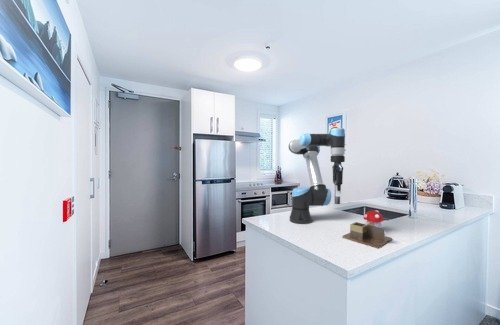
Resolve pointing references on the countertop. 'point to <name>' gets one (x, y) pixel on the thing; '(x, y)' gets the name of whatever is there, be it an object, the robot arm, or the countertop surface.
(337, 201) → the pin
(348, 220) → the countertop surface
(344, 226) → the countertop surface
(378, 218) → the mushroom
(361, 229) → the square socket plate
